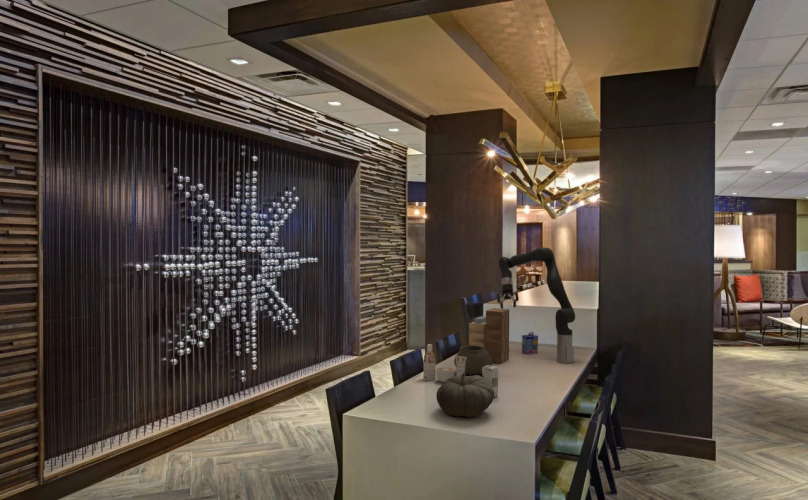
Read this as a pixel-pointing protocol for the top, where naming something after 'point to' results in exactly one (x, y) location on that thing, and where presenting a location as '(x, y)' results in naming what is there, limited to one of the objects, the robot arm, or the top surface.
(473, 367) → the clay pot
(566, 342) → the robot arm
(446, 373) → the cosmetic set
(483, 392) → the gourd
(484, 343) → the oak stand
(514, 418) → the top surface
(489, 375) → the white carton
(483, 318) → the batten
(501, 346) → the walnut stand
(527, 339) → the ink cartridge box
